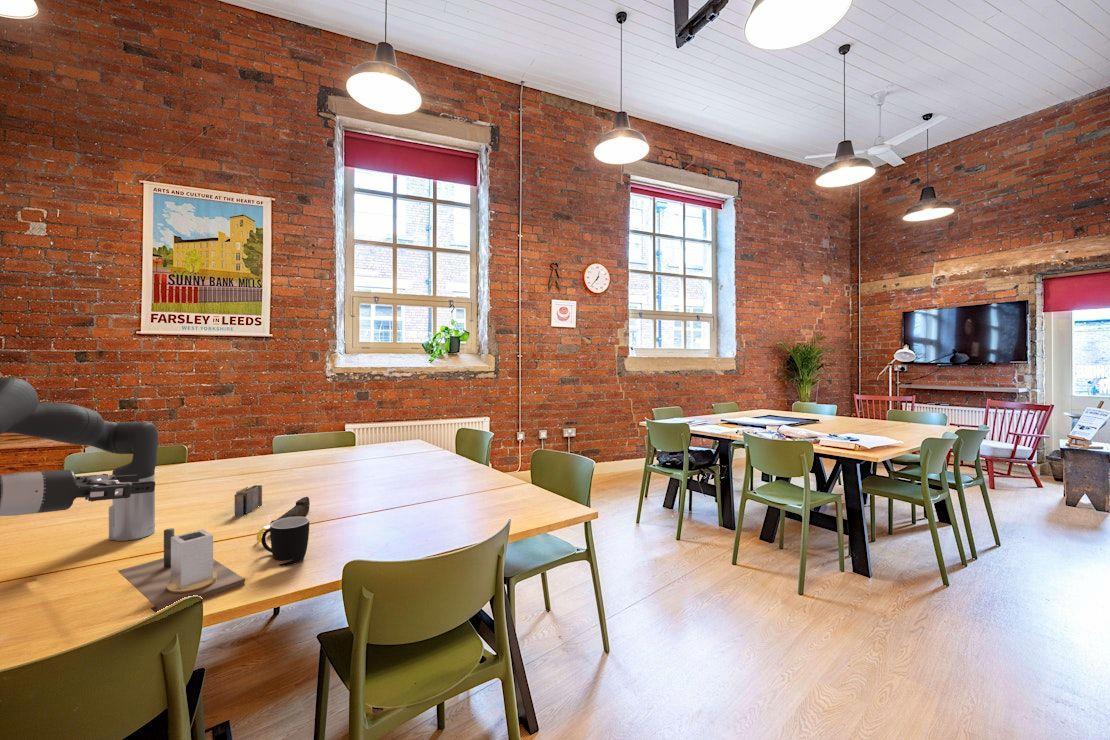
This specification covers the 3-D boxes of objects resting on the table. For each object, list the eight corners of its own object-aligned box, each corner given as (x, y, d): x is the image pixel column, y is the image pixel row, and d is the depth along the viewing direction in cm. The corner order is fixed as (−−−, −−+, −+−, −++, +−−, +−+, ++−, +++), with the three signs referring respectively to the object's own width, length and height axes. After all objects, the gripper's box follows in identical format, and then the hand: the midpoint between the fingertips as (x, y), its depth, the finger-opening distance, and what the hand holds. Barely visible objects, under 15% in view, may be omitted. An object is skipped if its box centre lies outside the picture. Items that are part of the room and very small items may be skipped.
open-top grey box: (181, 588, 102) (180, 543, 102) (170, 580, 106) (170, 537, 106) (213, 578, 107) (213, 535, 107) (202, 571, 111) (202, 529, 110)
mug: (316, 553, 127) (316, 516, 127) (296, 568, 118) (296, 529, 118) (273, 552, 128) (273, 515, 128) (250, 566, 119) (250, 527, 119)
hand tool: (285, 535, 140) (285, 517, 140) (269, 535, 140) (269, 517, 140) (318, 510, 163) (318, 494, 163) (304, 510, 163) (304, 494, 162)
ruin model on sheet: (244, 517, 155) (244, 488, 155) (234, 517, 155) (234, 488, 155) (263, 506, 166) (263, 479, 166) (254, 506, 166) (254, 479, 166)
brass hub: (158, 596, 101) (158, 564, 101) (177, 577, 109) (177, 547, 109) (208, 590, 104) (208, 559, 104) (222, 572, 112) (222, 543, 112)
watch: (254, 549, 130) (254, 527, 129) (261, 545, 132) (261, 524, 132) (275, 550, 129) (275, 528, 129) (281, 546, 132) (281, 525, 132)
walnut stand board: (117, 576, 112) (117, 533, 112) (197, 554, 125) (197, 515, 125) (158, 615, 96) (157, 564, 96) (244, 585, 110) (244, 540, 109)
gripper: (49, 477, 82) (162, 469, 96) (27, 466, 90) (135, 460, 103) (42, 521, 82) (157, 507, 96) (21, 506, 89) (130, 494, 103)
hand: (146, 482), depth 99 cm, fingers open, 8 cm apart
